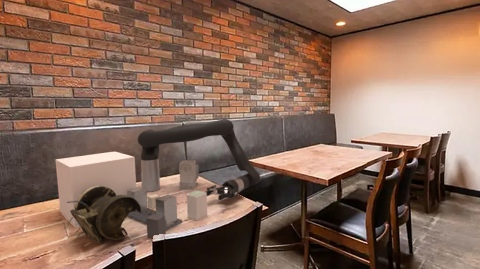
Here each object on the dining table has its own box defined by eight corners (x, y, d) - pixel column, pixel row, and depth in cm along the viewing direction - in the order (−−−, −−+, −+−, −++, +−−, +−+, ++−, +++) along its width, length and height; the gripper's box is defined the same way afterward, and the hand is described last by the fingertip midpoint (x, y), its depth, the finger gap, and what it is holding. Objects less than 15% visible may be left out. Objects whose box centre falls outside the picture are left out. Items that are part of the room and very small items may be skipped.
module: (187, 217, 111) (186, 193, 110) (197, 212, 116) (197, 189, 115) (197, 220, 108) (196, 196, 107) (207, 215, 113) (206, 192, 111)
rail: (124, 215, 114) (123, 190, 112) (142, 208, 121) (141, 185, 120) (164, 231, 99) (163, 202, 98) (182, 222, 106) (181, 195, 105)
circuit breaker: (199, 182, 160) (198, 158, 158) (193, 190, 146) (192, 163, 144) (187, 182, 161) (186, 158, 159) (179, 189, 147) (178, 163, 145)
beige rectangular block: (147, 206, 124) (147, 196, 123) (155, 204, 126) (155, 193, 126) (151, 208, 121) (151, 198, 120) (160, 206, 124) (159, 195, 123)
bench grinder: (122, 208, 113) (96, 171, 104) (151, 219, 98) (124, 177, 90) (77, 246, 99) (43, 207, 91) (103, 266, 85) (66, 221, 77)
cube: (118, 198, 135) (114, 151, 132) (137, 209, 121) (134, 156, 118) (60, 213, 117) (55, 159, 114) (75, 229, 103) (70, 167, 100)
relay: (147, 236, 95) (146, 218, 94) (154, 231, 99) (153, 213, 98) (158, 239, 93) (158, 220, 93) (165, 233, 97) (164, 215, 96)
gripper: (221, 177, 135) (199, 185, 122) (245, 181, 127) (224, 191, 114) (222, 191, 136) (200, 201, 123) (245, 196, 128) (224, 207, 115)
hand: (211, 196), depth 119 cm, fingers open, 8 cm apart
